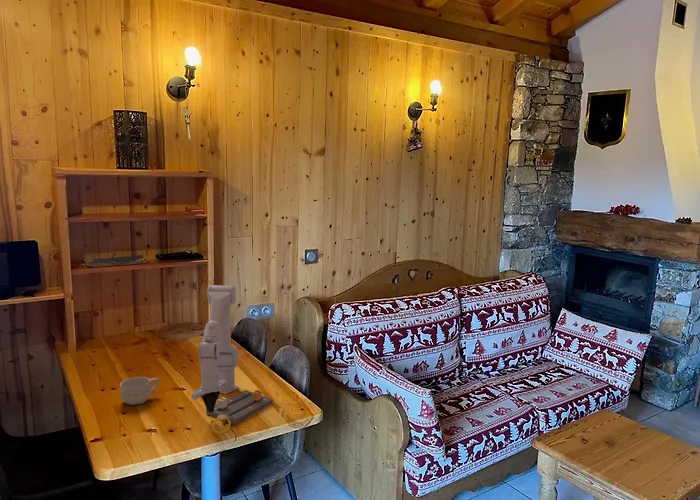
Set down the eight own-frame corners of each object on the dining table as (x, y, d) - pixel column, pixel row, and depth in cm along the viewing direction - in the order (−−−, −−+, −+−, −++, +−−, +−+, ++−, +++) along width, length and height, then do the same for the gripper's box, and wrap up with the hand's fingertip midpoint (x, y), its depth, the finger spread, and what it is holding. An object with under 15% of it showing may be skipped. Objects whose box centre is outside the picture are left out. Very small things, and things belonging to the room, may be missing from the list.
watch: (228, 429, 178) (229, 413, 177) (231, 433, 176) (232, 416, 175) (211, 432, 175) (212, 415, 174) (213, 436, 173) (214, 419, 172)
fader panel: (206, 414, 188) (206, 408, 188) (245, 394, 205) (245, 389, 204) (234, 425, 180) (234, 419, 180) (272, 403, 197) (272, 398, 197)
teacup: (121, 410, 189) (120, 389, 188) (119, 398, 198) (118, 378, 197) (162, 403, 195) (161, 383, 194) (158, 391, 205) (157, 372, 203)
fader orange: (253, 399, 195) (253, 391, 195) (257, 397, 197) (257, 389, 197) (257, 401, 194) (257, 392, 193) (261, 398, 196) (261, 390, 195)
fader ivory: (217, 407, 188) (217, 398, 188) (222, 404, 190) (222, 396, 190) (222, 408, 187) (221, 400, 187) (226, 406, 189) (226, 398, 189)
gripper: (201, 384, 173) (202, 422, 176) (233, 370, 185) (233, 406, 188) (187, 379, 177) (188, 416, 179) (219, 366, 189) (219, 401, 191)
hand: (210, 411), depth 184 cm, fingers closed
